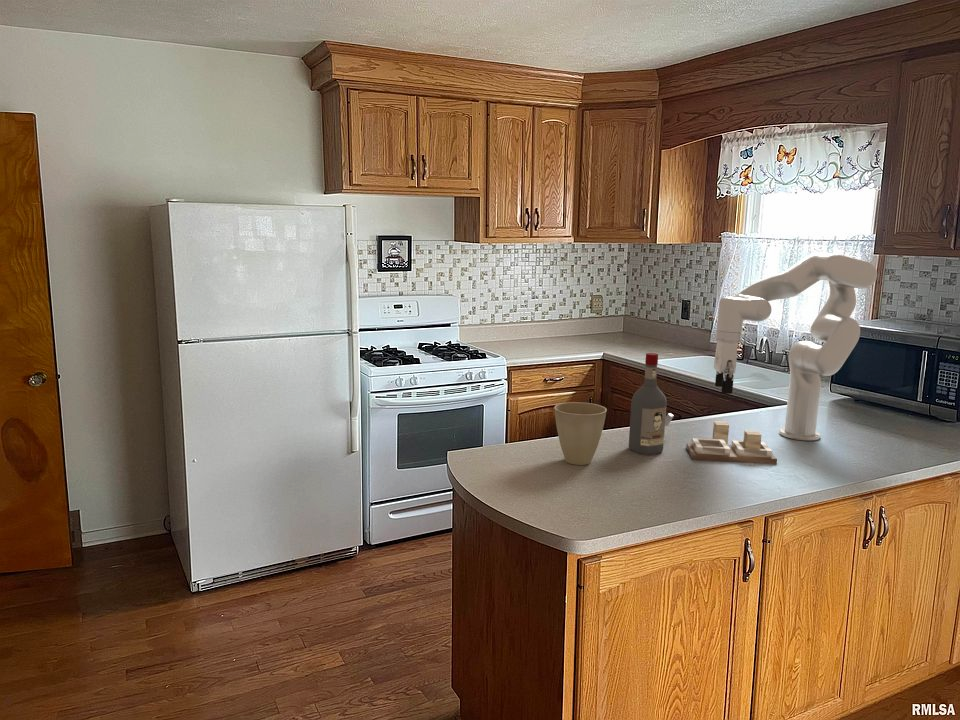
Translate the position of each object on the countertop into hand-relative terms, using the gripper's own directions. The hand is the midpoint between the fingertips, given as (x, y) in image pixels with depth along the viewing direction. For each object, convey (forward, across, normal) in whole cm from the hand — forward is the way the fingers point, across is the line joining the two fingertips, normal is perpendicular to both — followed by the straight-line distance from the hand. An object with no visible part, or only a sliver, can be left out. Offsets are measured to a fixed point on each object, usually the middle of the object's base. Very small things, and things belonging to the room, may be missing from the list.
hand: (723, 389), depth 239 cm
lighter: (+17, -3, -18) cm, 25 cm away
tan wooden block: (+17, 0, 0) cm, 17 cm away
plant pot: (+18, +28, -46) cm, 56 cm away
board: (+17, +15, 0) cm, 23 cm away
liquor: (+18, +14, -24) cm, 33 cm away
